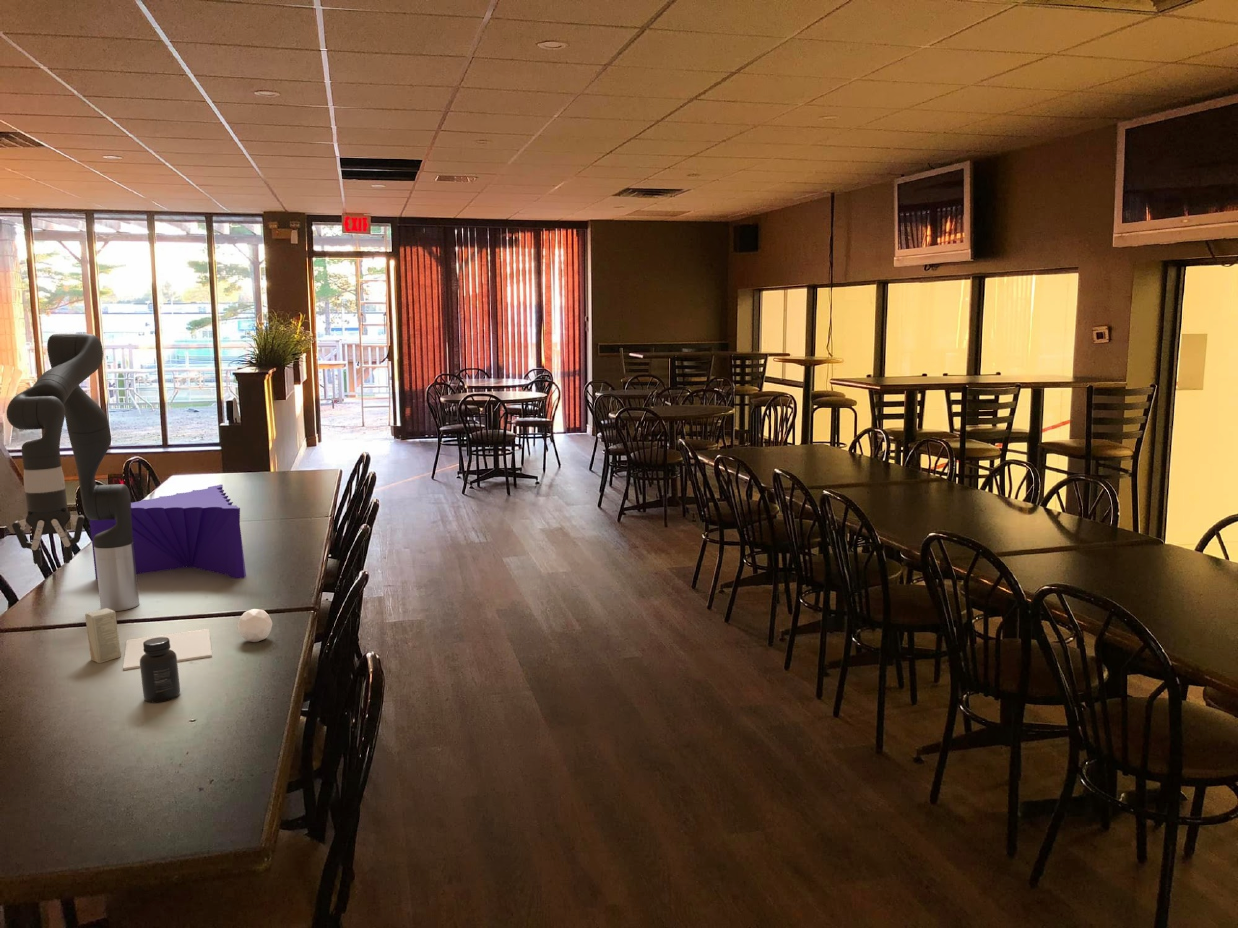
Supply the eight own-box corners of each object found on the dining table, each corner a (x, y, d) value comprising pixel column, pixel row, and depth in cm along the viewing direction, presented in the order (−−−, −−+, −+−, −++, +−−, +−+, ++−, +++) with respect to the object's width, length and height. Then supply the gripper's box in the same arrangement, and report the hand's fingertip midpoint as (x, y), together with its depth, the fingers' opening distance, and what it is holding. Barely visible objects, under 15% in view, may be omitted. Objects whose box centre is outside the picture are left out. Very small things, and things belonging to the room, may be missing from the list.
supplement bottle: (186, 689, 195) (181, 634, 193) (171, 702, 189) (166, 646, 187) (152, 690, 195) (147, 635, 193) (137, 703, 188) (131, 646, 186)
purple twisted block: (243, 579, 277) (238, 508, 274) (93, 580, 278) (86, 510, 275) (292, 546, 316) (288, 483, 313) (160, 547, 317) (154, 485, 314)
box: (113, 653, 217) (108, 607, 215) (121, 657, 214) (116, 610, 213) (89, 659, 213) (84, 612, 211) (97, 663, 210) (92, 616, 209)
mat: (127, 641, 224) (127, 639, 224) (209, 630, 232) (208, 628, 232) (123, 670, 206) (122, 667, 206) (211, 656, 214) (211, 654, 214)
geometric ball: (261, 647, 227) (278, 617, 230) (261, 646, 220) (278, 615, 222) (232, 635, 225) (248, 604, 228) (230, 633, 218) (247, 601, 221)
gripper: (84, 482, 210) (92, 556, 213) (9, 488, 204) (18, 564, 207) (81, 487, 204) (89, 564, 206) (3, 494, 198) (13, 572, 200)
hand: (53, 563), depth 207 cm, fingers open, 4 cm apart
